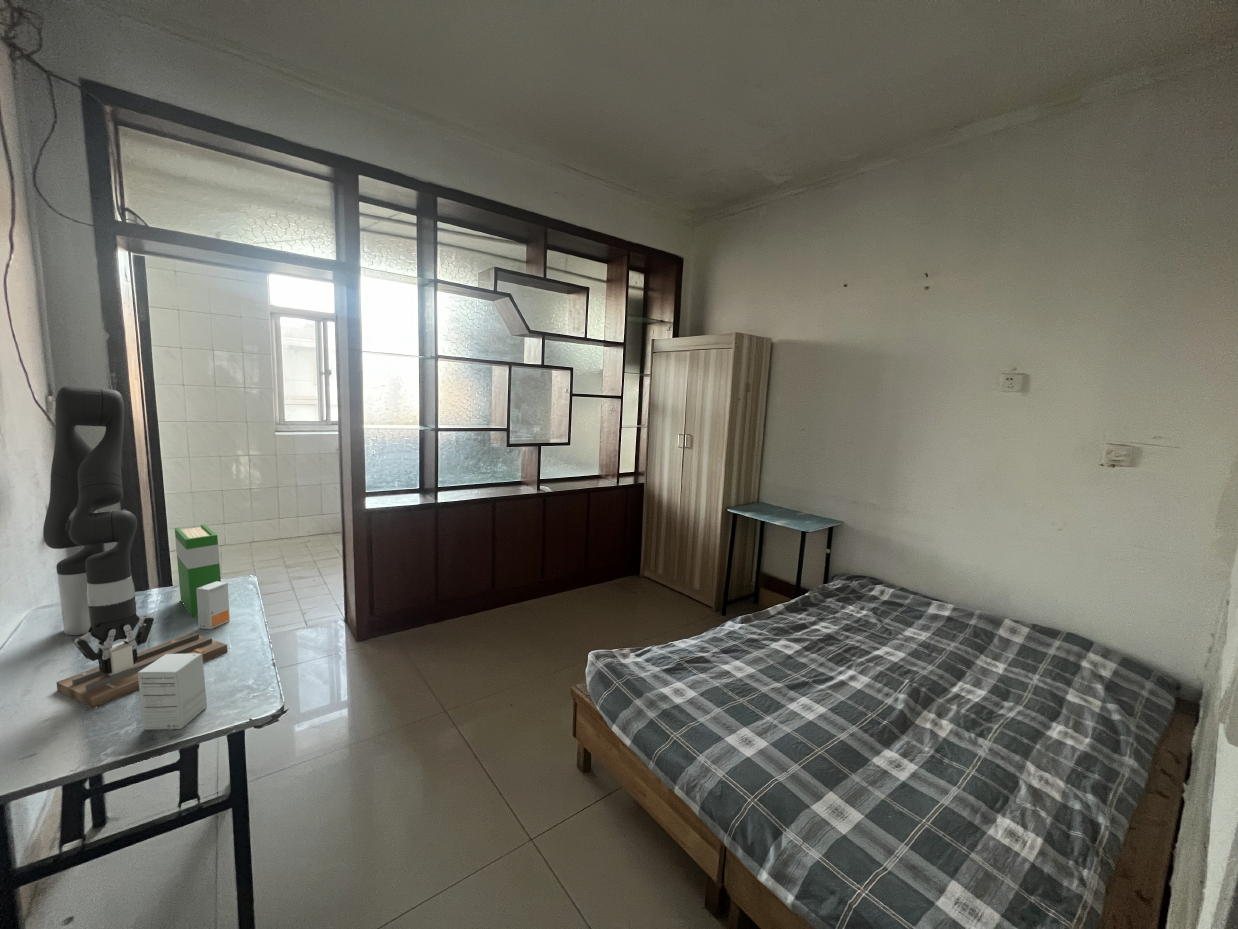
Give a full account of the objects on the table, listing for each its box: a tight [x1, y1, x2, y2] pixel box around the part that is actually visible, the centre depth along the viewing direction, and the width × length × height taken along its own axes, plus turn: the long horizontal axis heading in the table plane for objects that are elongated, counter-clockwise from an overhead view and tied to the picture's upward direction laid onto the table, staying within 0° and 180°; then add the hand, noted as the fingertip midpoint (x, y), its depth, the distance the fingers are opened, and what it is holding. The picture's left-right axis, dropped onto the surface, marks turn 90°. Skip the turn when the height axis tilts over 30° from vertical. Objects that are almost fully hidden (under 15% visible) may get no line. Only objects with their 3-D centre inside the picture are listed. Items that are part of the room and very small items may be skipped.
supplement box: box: [138, 653, 208, 731], centre depth 102 cm, size 7×7×13 cm
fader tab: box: [108, 641, 134, 676], centre depth 114 cm, size 4×4×6 cm
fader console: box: [56, 632, 228, 708], centre depth 120 cm, size 15×26×3 cm, turn 158°
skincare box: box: [196, 581, 231, 630], centre depth 143 cm, size 6×4×12 cm
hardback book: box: [174, 523, 222, 618], centre depth 155 cm, size 18×7×24 cm, turn 49°
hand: (119, 668), depth 115 cm, fingers closed on fader tab, 3 cm apart
